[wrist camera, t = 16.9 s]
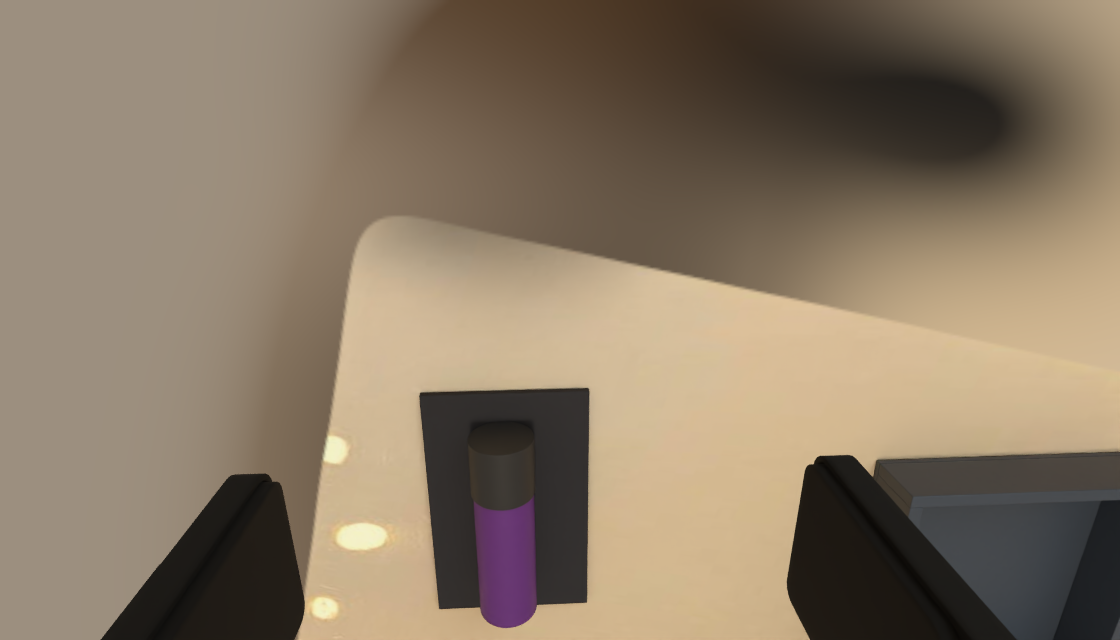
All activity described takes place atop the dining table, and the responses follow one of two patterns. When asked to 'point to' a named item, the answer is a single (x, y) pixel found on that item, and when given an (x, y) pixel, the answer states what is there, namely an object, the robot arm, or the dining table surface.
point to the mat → (556, 499)
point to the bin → (1024, 535)
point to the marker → (504, 520)
